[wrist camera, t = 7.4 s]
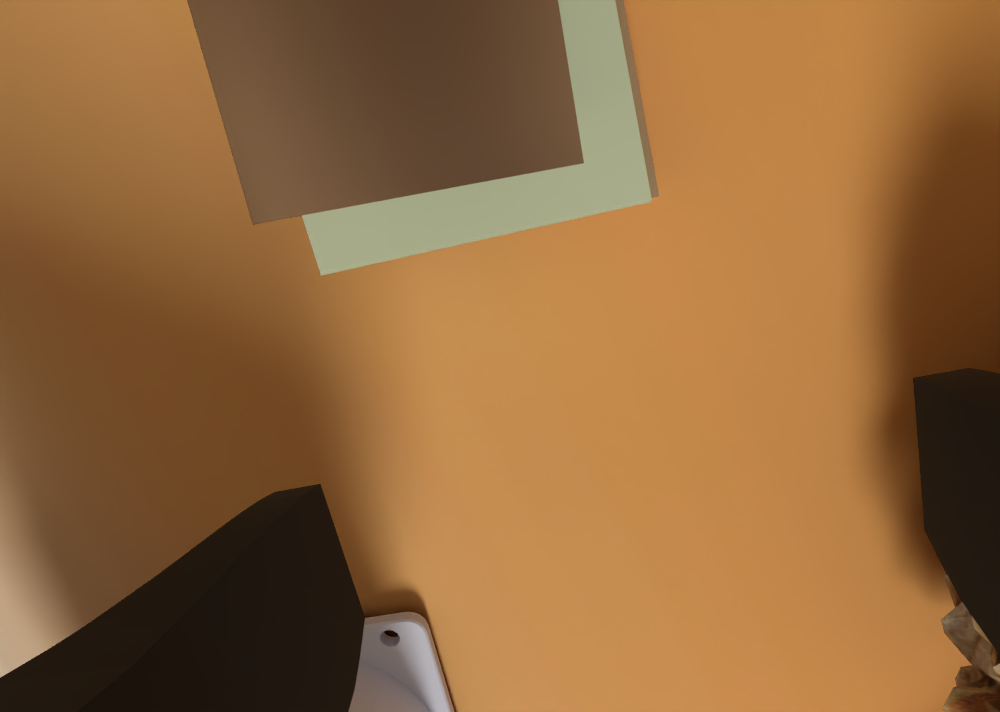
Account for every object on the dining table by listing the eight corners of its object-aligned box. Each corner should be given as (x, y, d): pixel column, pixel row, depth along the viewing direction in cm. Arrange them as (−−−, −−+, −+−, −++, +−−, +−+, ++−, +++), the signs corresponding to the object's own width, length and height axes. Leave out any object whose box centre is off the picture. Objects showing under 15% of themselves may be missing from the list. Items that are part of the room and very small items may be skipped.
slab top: (349, 241, 19) (321, 275, 16) (254, -72, 17) (205, -83, 14) (639, 175, 18) (651, 201, 16) (576, -162, 16) (580, -190, 14)
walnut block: (343, 158, 16) (253, 224, 11) (278, -98, 14) (144, -146, 10) (574, 113, 15) (583, 163, 10) (531, -156, 14) (520, -237, 9)
